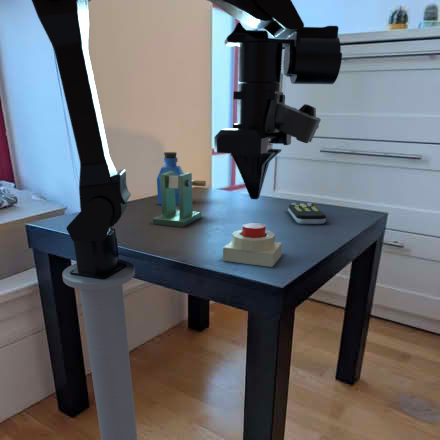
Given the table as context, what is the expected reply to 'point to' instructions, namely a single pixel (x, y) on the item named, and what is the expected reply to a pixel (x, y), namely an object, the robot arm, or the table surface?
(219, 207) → the table surface
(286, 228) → the table surface
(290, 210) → the remote control
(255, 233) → the button
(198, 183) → the lever
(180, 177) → the bracket
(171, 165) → the perfume bottle
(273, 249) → the control box
